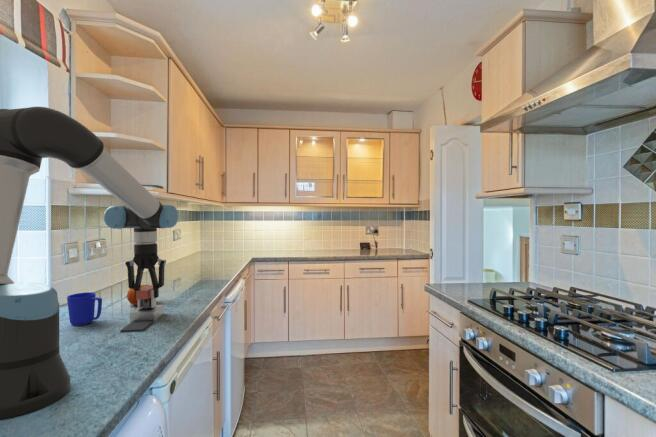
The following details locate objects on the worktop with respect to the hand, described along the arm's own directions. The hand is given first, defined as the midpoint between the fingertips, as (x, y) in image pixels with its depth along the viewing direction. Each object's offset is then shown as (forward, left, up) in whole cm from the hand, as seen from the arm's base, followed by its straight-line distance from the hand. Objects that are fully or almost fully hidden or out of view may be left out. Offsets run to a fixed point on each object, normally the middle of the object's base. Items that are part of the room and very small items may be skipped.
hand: (147, 306), depth 127 cm
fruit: (+21, +10, -4) cm, 24 cm away
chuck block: (0, 0, -4) cm, 4 cm away
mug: (-3, +19, -4) cm, 20 cm away
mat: (-10, -1, -4) cm, 11 cm away
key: (0, 0, -3) cm, 3 cm away
